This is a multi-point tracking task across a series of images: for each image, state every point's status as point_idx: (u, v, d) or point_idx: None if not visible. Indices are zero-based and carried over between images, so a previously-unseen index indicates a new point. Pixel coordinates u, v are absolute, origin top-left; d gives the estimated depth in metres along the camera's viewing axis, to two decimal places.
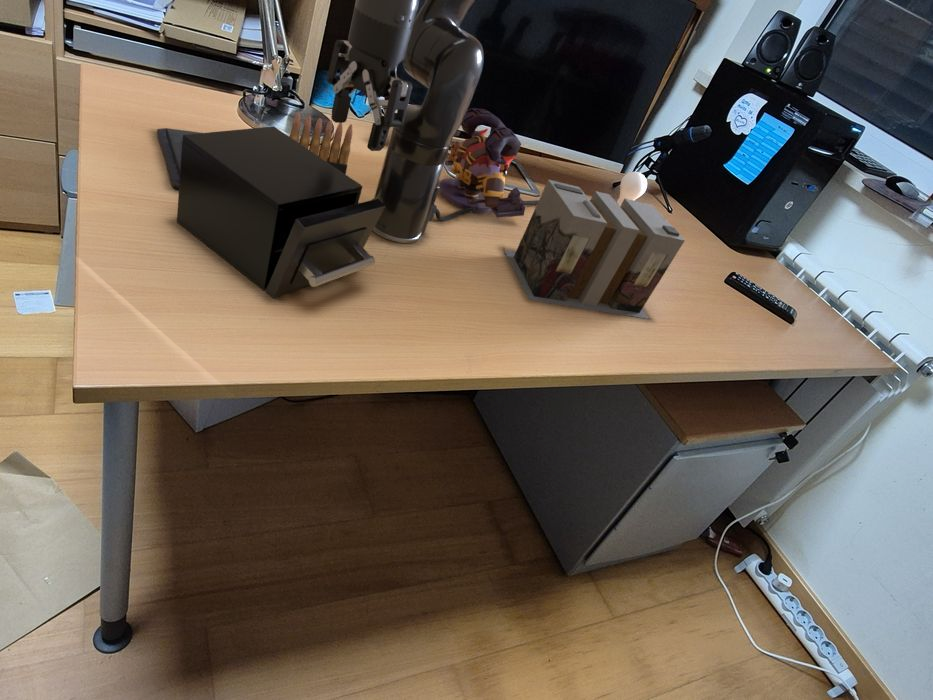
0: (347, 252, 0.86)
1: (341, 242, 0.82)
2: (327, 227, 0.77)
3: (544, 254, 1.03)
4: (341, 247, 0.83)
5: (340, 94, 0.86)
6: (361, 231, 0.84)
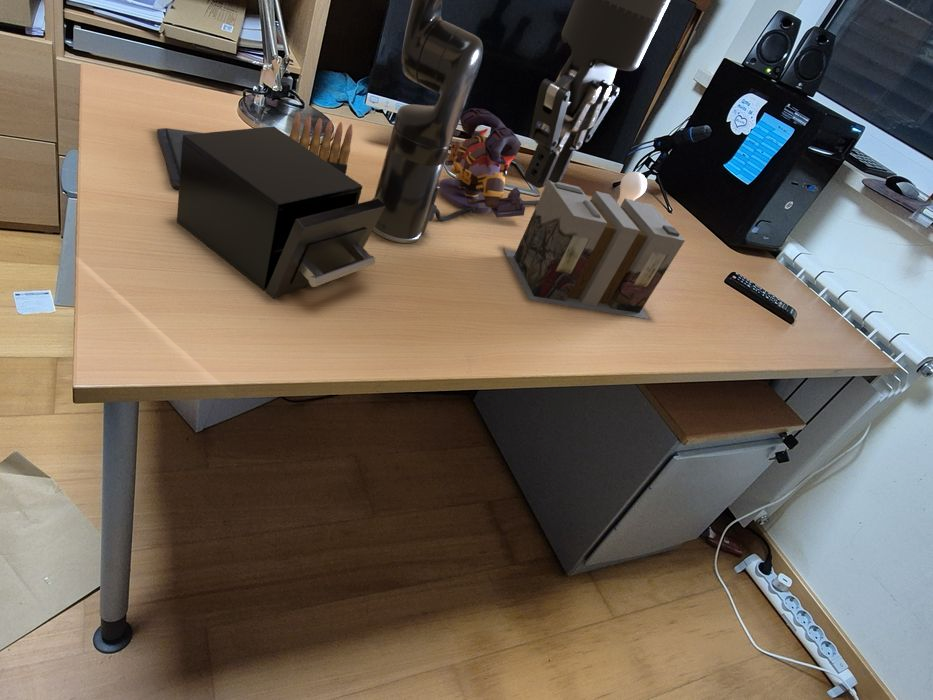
0: (347, 252, 0.86)
1: (341, 242, 0.82)
2: (327, 227, 0.77)
3: (544, 254, 1.03)
4: (341, 247, 0.83)
5: None
6: (361, 231, 0.84)
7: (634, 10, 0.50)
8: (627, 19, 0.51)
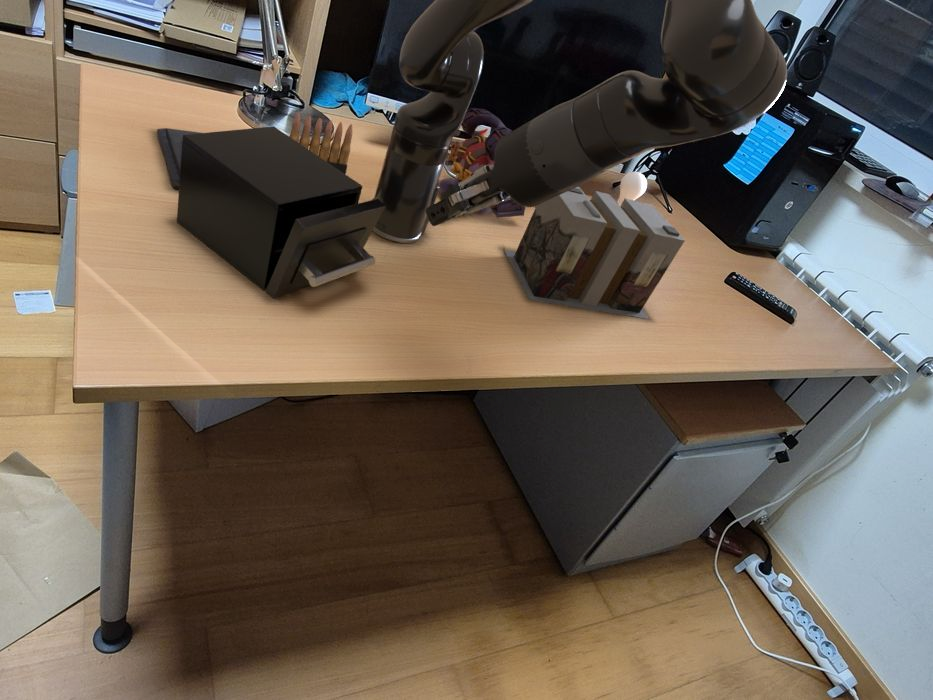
0: (347, 252, 0.86)
1: (341, 242, 0.82)
2: (327, 227, 0.77)
3: (544, 254, 1.03)
4: (341, 247, 0.83)
5: None
6: (361, 231, 0.84)
7: (548, 183, 0.58)
8: (540, 185, 0.58)
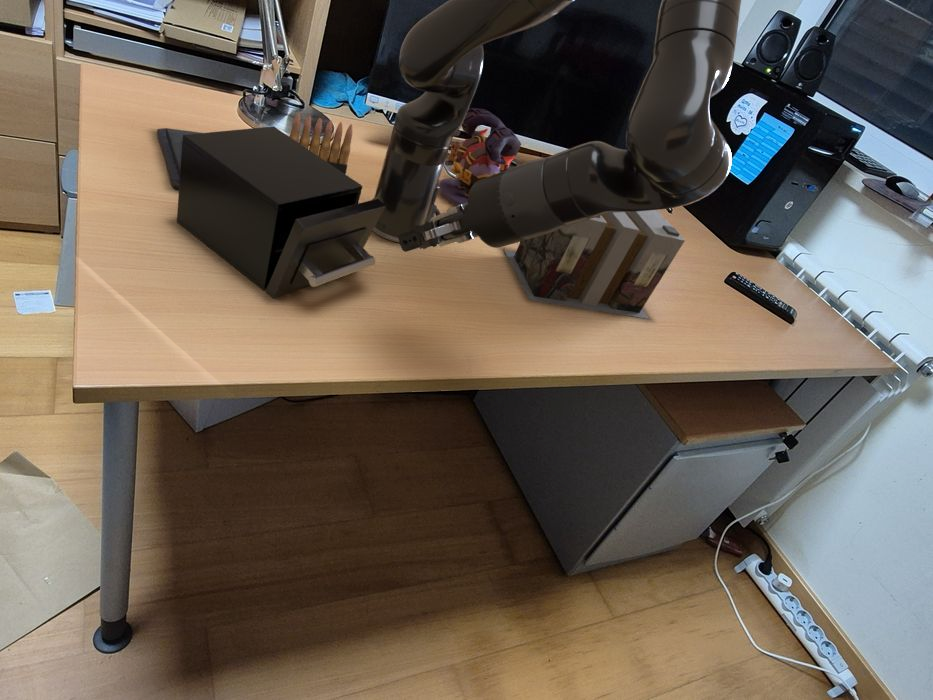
0: (347, 252, 0.86)
1: (341, 242, 0.82)
2: (327, 227, 0.77)
3: (544, 254, 1.03)
4: (341, 247, 0.83)
5: None
6: (361, 231, 0.84)
7: (515, 231, 0.63)
8: (508, 232, 0.63)
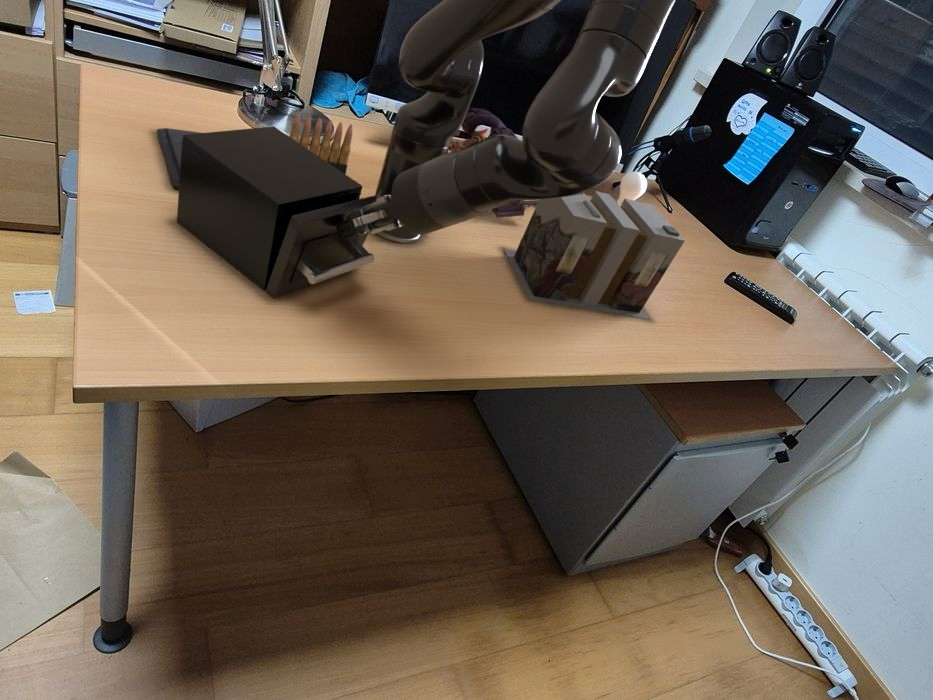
0: (346, 250, 0.86)
1: (339, 240, 0.82)
2: (324, 223, 0.77)
3: (544, 254, 1.03)
4: (339, 245, 0.83)
5: None
6: None
7: (434, 218, 0.68)
8: (427, 219, 0.68)
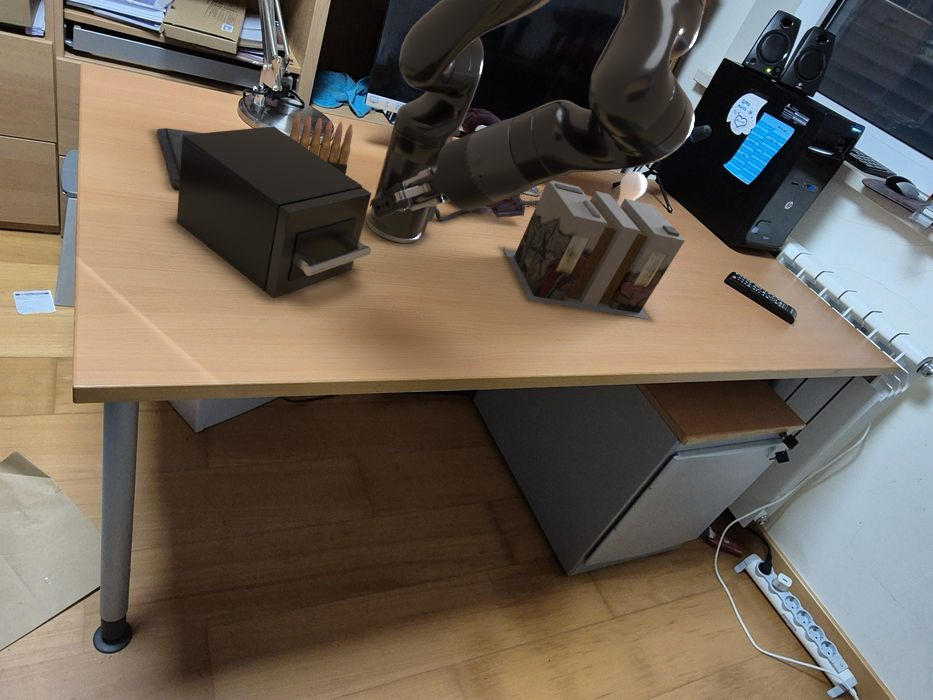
0: (342, 246, 0.86)
1: (332, 233, 0.83)
2: (314, 213, 0.77)
3: (544, 254, 1.03)
4: (334, 239, 0.84)
5: None
6: (351, 221, 0.85)
7: (483, 192, 0.63)
8: (476, 193, 0.64)
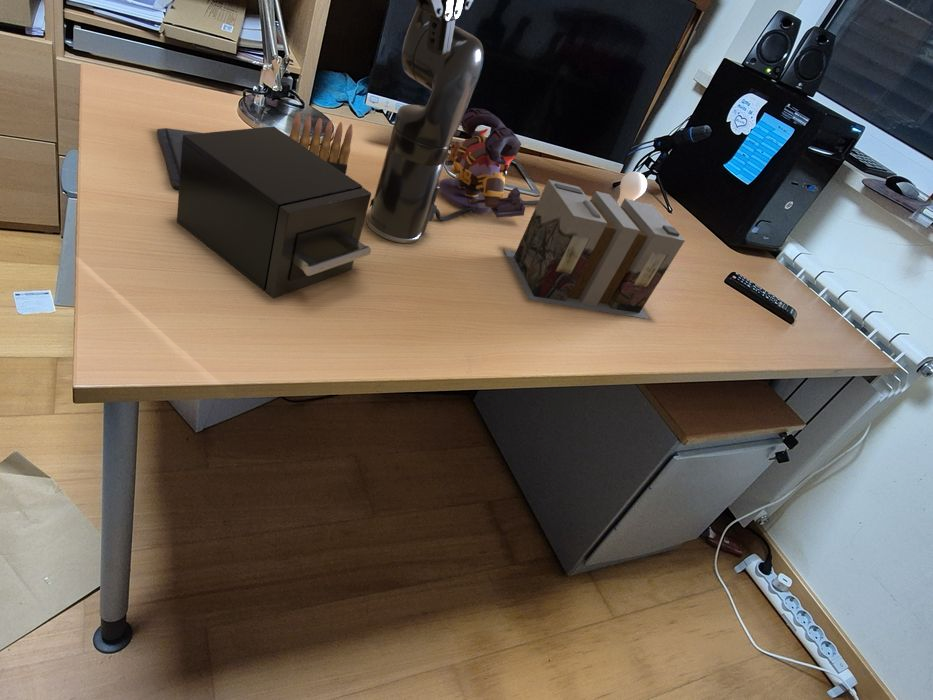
0: (342, 246, 0.86)
1: (332, 233, 0.83)
2: (314, 213, 0.77)
3: (544, 254, 1.03)
4: (334, 239, 0.84)
5: None
6: (351, 221, 0.85)
7: None
8: None
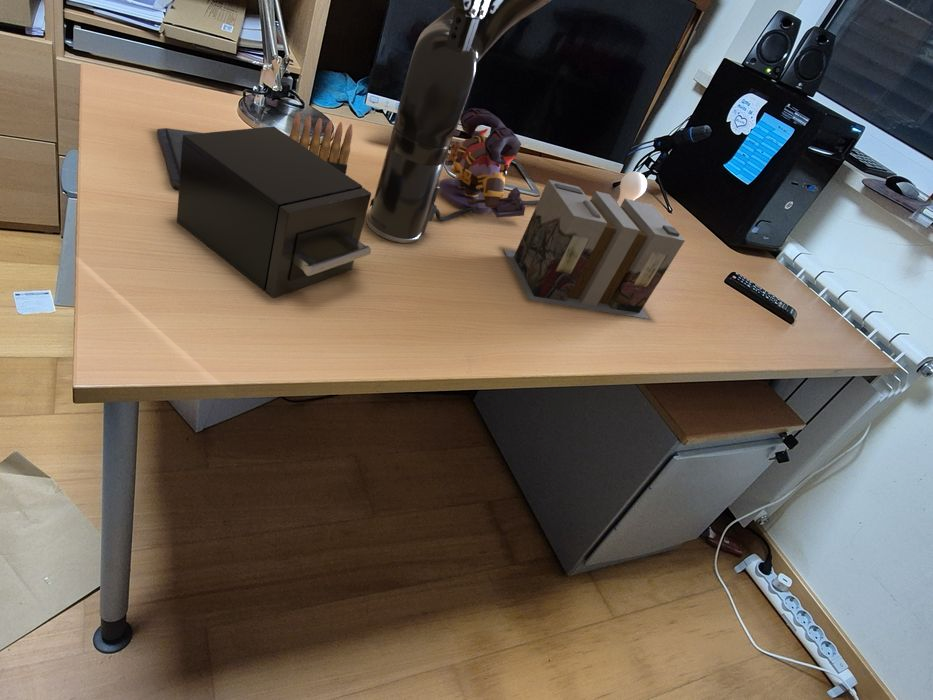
0: (342, 246, 0.86)
1: (332, 233, 0.83)
2: (314, 213, 0.77)
3: (544, 254, 1.03)
4: (334, 239, 0.84)
5: None
6: (351, 221, 0.85)
7: None
8: None
